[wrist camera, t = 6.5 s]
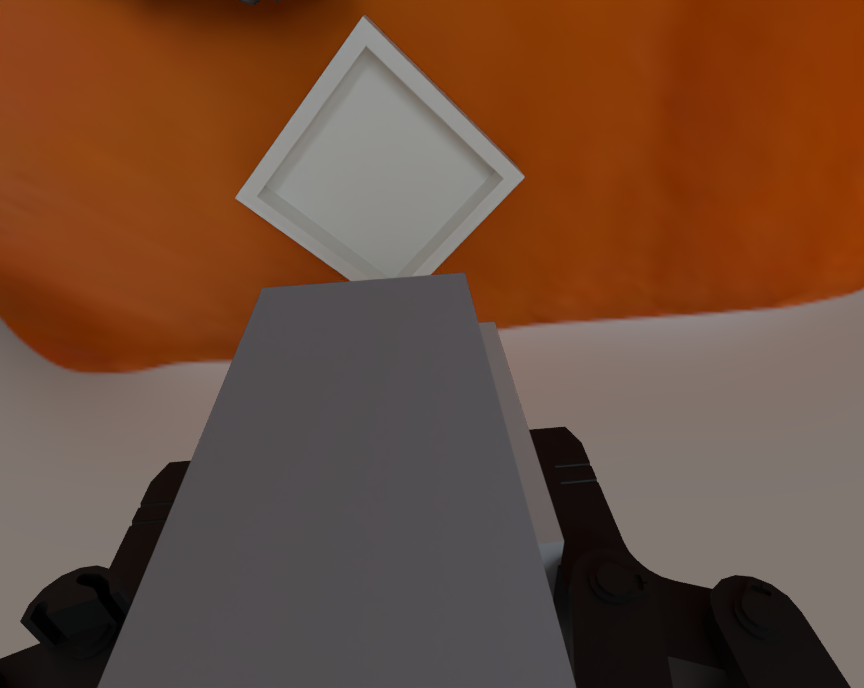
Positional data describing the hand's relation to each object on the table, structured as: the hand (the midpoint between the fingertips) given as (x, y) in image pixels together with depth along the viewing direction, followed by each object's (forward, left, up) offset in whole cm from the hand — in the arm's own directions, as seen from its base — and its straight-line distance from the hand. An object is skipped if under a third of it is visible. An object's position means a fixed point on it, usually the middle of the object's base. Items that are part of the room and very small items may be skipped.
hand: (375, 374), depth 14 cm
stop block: (0, 0, 0) cm, 0 cm away
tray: (0, 0, -19) cm, 19 cm away
